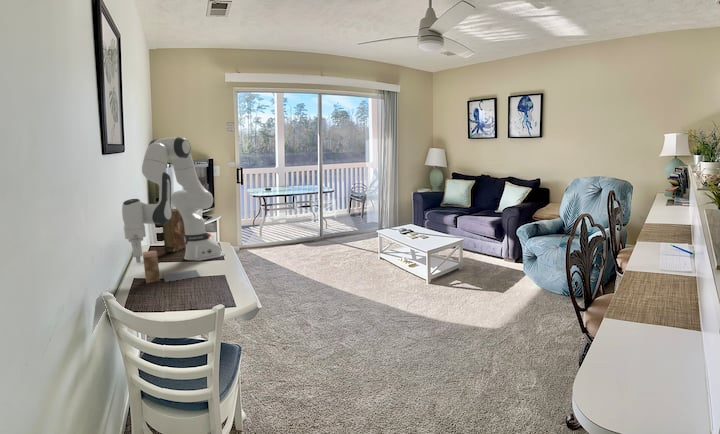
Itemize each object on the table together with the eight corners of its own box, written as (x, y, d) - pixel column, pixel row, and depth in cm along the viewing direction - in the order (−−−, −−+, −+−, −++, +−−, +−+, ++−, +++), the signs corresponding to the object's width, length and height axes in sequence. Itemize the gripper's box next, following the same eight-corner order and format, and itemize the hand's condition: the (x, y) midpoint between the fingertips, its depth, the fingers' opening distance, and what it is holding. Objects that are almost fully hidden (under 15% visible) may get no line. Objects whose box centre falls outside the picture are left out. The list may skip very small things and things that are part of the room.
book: (180, 246, 298) (176, 208, 294) (188, 247, 297) (184, 208, 293) (165, 253, 283) (161, 212, 278) (173, 253, 281) (169, 212, 277)
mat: (196, 270, 241) (195, 269, 241) (200, 276, 229) (200, 276, 229) (162, 275, 234) (162, 274, 234) (165, 282, 222) (165, 281, 222)
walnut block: (159, 278, 230) (156, 250, 227) (160, 281, 224) (157, 252, 222) (145, 280, 227) (142, 252, 225) (146, 283, 222) (143, 254, 219)
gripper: (143, 236, 212) (147, 266, 214) (141, 229, 230) (144, 256, 232) (128, 238, 209) (131, 268, 211) (127, 231, 227) (130, 258, 229)
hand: (138, 262), depth 222 cm, fingers closed
